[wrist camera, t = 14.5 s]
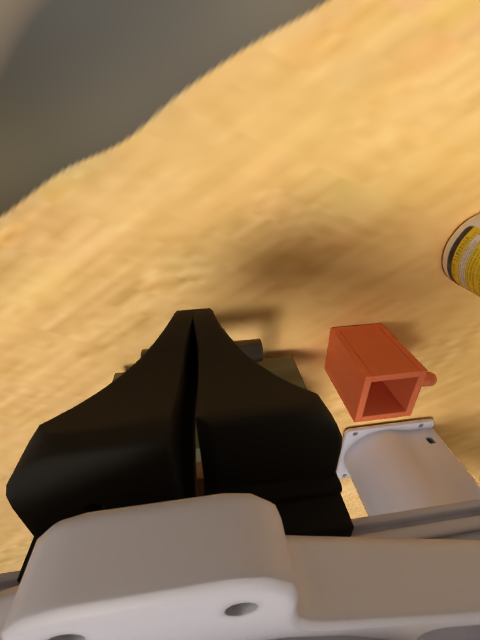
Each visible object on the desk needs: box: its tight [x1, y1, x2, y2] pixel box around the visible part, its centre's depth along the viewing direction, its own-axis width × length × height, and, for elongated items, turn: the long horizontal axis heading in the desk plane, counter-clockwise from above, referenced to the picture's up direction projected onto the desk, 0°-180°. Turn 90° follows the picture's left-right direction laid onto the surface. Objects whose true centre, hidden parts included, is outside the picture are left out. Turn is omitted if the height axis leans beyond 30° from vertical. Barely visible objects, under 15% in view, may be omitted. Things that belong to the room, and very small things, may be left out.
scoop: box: [325, 323, 437, 422], centre depth 23 cm, size 6×4×6 cm
